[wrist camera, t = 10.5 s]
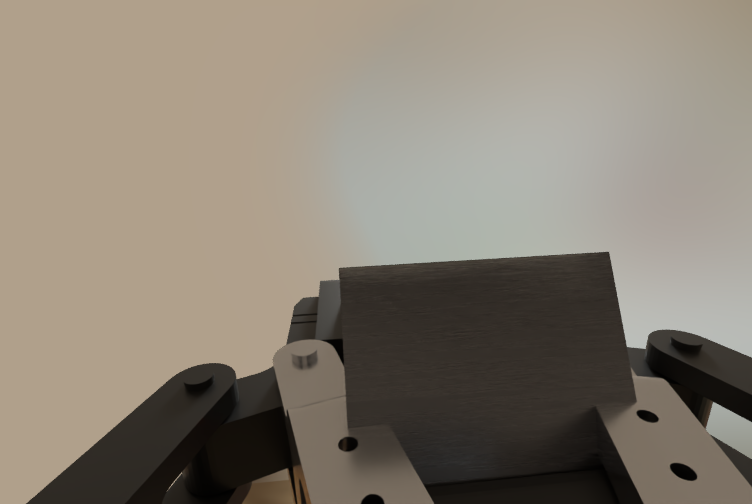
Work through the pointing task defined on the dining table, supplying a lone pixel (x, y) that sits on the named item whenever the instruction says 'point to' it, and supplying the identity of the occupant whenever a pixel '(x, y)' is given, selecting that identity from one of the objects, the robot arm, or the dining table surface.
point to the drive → (486, 362)
